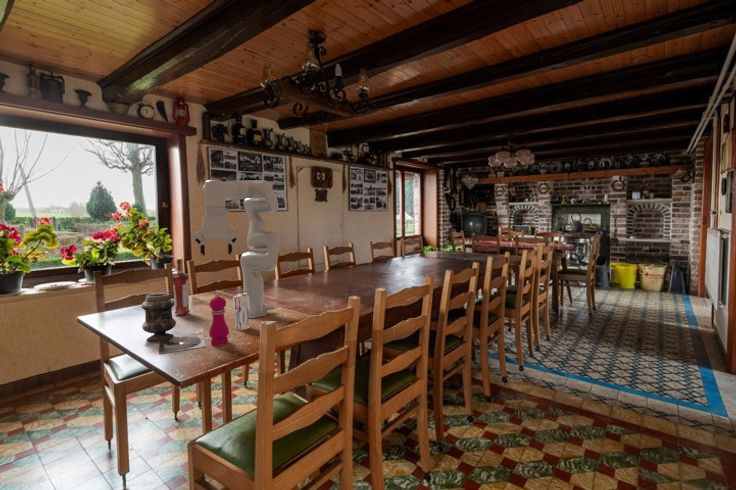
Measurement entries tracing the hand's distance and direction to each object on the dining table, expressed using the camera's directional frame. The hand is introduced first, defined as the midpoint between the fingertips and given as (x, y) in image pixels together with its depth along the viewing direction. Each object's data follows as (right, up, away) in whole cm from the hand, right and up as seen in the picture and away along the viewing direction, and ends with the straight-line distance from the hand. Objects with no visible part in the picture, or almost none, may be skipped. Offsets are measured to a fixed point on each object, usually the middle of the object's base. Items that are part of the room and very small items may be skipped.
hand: (216, 254), depth 155 cm
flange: (-12, -35, -3) cm, 37 cm away
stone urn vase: (-24, -34, +3) cm, 42 cm away
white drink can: (+5, -33, +17) cm, 37 cm away
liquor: (-33, -31, +40) cm, 60 cm away
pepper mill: (+2, -35, -3) cm, 35 cm away
